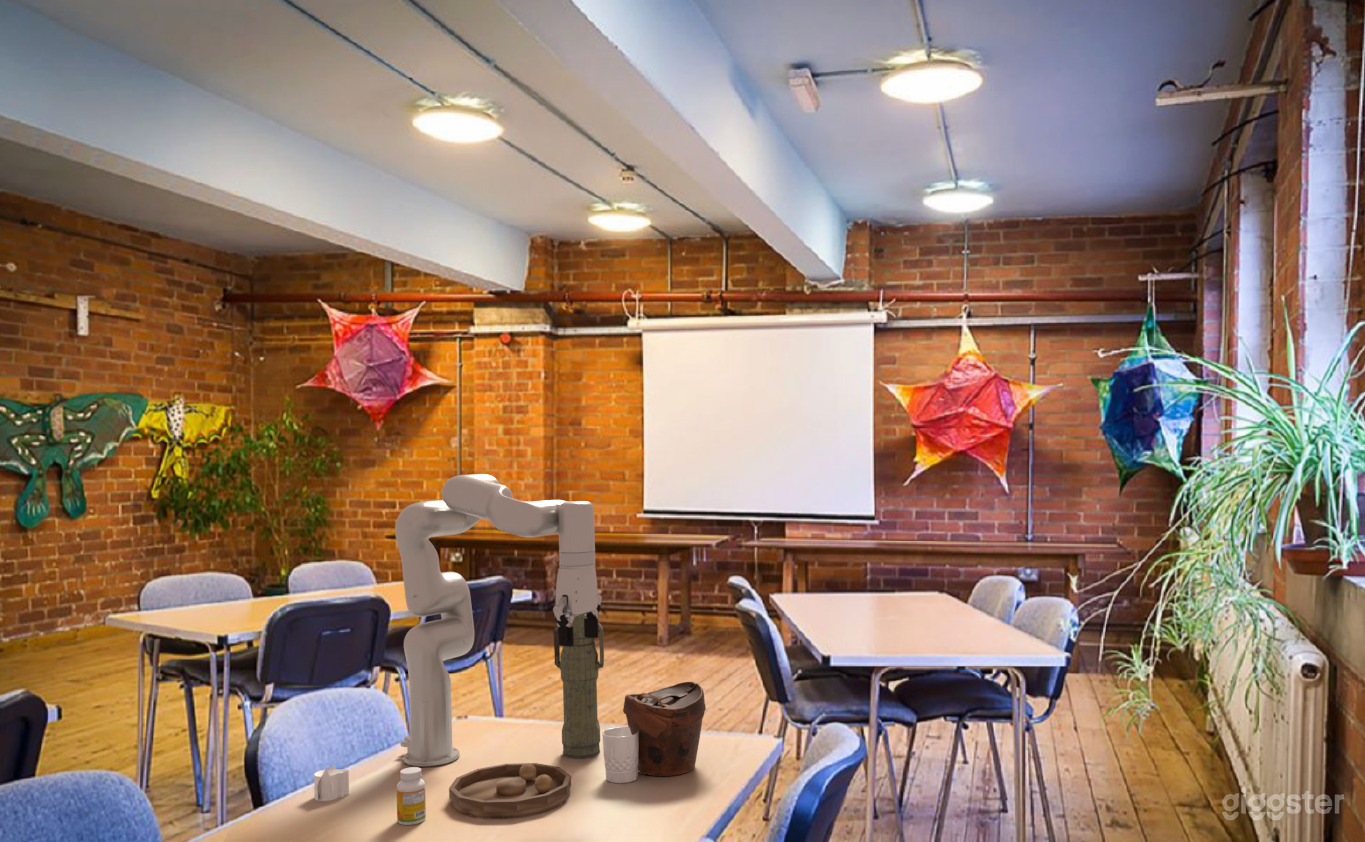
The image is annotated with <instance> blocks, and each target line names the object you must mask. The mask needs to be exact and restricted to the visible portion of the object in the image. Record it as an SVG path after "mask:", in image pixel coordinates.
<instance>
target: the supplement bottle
mask: <svg viewBox="0 0 1365 842" xmlns="http://www.w3.org/2000/svg"><path fill="white" fill-rule="evenodd" d="M399 773H400V774H399V775H400V776H399V778H400V780H399V782H398V783H397V784H396V817H397V818H396V820H397V823H398V824H400V825H402V826H412V825H419V824H421V823H422V822H424V821H425V820H426V819H427V810H426V809H427V807H426V806H427V804H426V801H427V800H426V797H427V796H426V781H425V780H424V779H423V778H422V768H420V766H411V767H410V766H409V767H406V768H403V769H401V770H400V771H399Z"/></svg>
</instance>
